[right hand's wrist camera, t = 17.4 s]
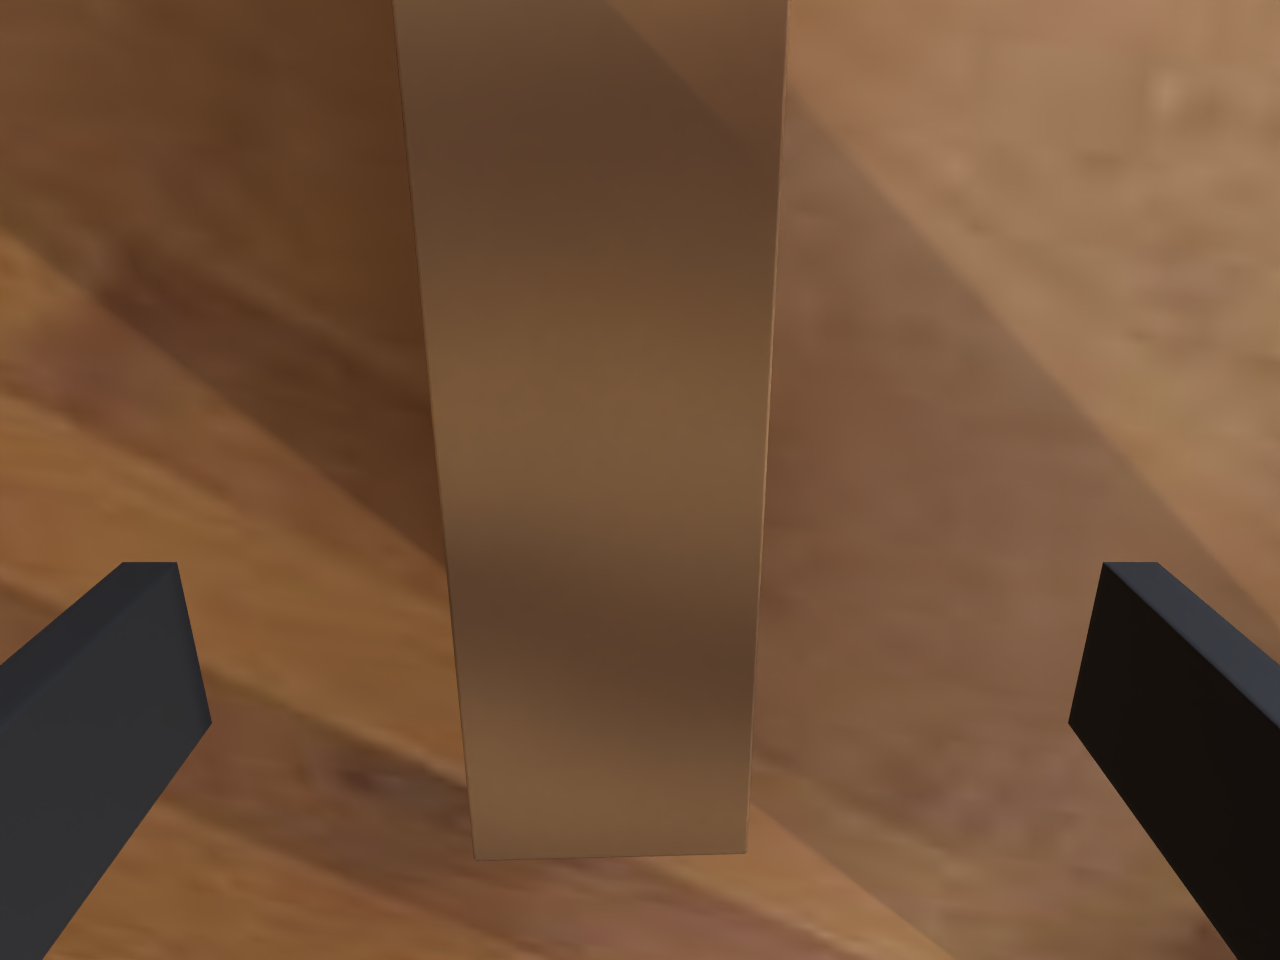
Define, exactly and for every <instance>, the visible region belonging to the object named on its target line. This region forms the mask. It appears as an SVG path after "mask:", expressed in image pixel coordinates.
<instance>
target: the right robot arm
mask: <svg viewBox="0 0 1280 960" xmlns="http://www.w3.org/2000/svg"><path fill="white" fill-rule="evenodd" d="M211 724H212V721H211V717H210V712H209V708H208V703H207V698H206V694H205V689H204V685H203V680H202V675H201V671H200V666H199V662H198V657H197V652H196V648H195V643H194V639H193V634H192V629H191V625H190V620H189V616H188V611H187V606H186V602H185V597H184V593H183V588H182V584H181V579H180V574H179V570H178V565H177V562H123V563H121V564H120V565H119V566H118V567H117V568H115V569H114V570H113V571H112V572H111V573H110V574H108V575H107V576H106V577H105V578H104V579H102V580H101V581H100V582H99V583H98V584H96V585H95V586H94V587H93V588H92V589H91V590H89V591H88V592H87V593H86V594H85V595H83V596H82V597H81V598H80V599H79V600H77V601H76V602H75V603H74V604H73V605H72V606H70V607H69V608H68V609H67V610H66V611H64V612H63V613H62V614H61V615H60V616H58V617H57V618H56V619H55V620H54V621H53V622H51V623H50V624H49V625H48V626H47V627H45V628H44V629H43V630H42V631H41V632H39V633H38V634H37V635H36V636H35V637H34V638H32V639H31V640H30V641H29V642H28V643H26V644H25V645H24V646H23V647H22V648H20V649H19V650H18V651H17V652H16V653H14V654H13V655H12V656H11V657H10V658H9V659H7V660H6V661H5V662H4V663H3V664H1V665H0V960H42V959H43V958H44V956H45V955H46V953H47V952H48V951H49V949H50V948H51V946H52V945H53V944H54V942H55V941H56V940H57V938H58V937H59V935H60V934H61V933H62V931H63V930H64V928H65V927H66V926H67V924H68V923H69V921H70V920H71V919H72V917H73V916H74V914H75V913H76V912H77V910H78V909H79V907H80V906H81V905H82V903H83V902H84V901H85V899H86V898H87V896H88V895H89V894H90V892H91V891H92V889H93V888H94V887H95V885H96V884H97V882H98V881H99V880H100V878H101V877H102V875H103V874H104V873H105V871H106V870H107V868H108V867H109V866H110V864H111V863H112V862H113V860H114V859H115V857H116V856H117V855H118V853H119V852H120V850H121V849H122V848H123V846H124V845H125V843H126V842H127V841H128V839H129V838H130V836H131V835H132V834H133V832H134V831H135V829H136V828H137V827H138V825H139V824H140V823H141V821H142V820H143V818H144V817H145V816H146V814H147V813H148V811H149V810H150V809H151V807H152V806H153V804H154V803H155V802H156V800H157V799H158V797H159V796H160V795H161V793H162V792H163V790H164V789H165V788H166V786H167V785H168V784H169V782H170V781H171V779H172V778H173V777H174V775H175V774H176V772H177V771H178V770H179V768H180V767H181V765H182V764H183V763H184V761H185V760H186V758H187V757H188V756H189V754H190V753H191V751H192V750H193V749H194V747H195V746H196V745H197V743H198V742H199V740H200V739H201V738H202V736H203V735H204V733H205V732H206V731H207V729H208V728H209V726H210V725H211ZM1068 724H1069V725H1070V726H1071V728H1072V729H1073V731H1074V732H1075V733H1076V735H1077V736H1078V738H1079V739H1080V740H1081V742H1082V743H1083V745H1084V746H1085V747H1086V749H1087V750H1088V751H1089V753H1090V754H1091V756H1092V757H1093V758H1094V760H1095V761H1096V763H1097V764H1098V765H1099V767H1100V768H1101V770H1102V771H1103V772H1104V774H1105V775H1106V777H1107V778H1108V779H1109V781H1110V782H1111V784H1112V785H1113V786H1114V788H1115V789H1116V790H1117V792H1118V793H1119V795H1120V796H1121V797H1122V799H1123V800H1124V802H1125V803H1126V804H1127V806H1128V807H1129V809H1130V810H1131V811H1132V813H1133V814H1134V816H1135V817H1136V818H1137V820H1138V821H1139V823H1140V824H1141V825H1142V827H1143V828H1144V829H1145V831H1146V832H1147V834H1148V835H1149V836H1150V838H1151V839H1152V841H1153V842H1154V843H1155V845H1156V846H1157V848H1158V849H1159V850H1160V852H1161V853H1162V855H1163V856H1164V857H1165V859H1166V860H1167V862H1168V863H1169V864H1170V866H1171V867H1172V868H1173V870H1174V871H1175V873H1176V874H1177V875H1178V877H1179V878H1180V880H1181V881H1182V882H1183V884H1184V885H1185V887H1186V888H1187V889H1188V891H1189V892H1190V894H1191V895H1192V896H1193V898H1194V899H1195V901H1196V902H1197V903H1198V905H1199V906H1200V907H1201V909H1202V910H1203V912H1204V913H1205V914H1206V916H1207V917H1208V919H1209V920H1210V921H1211V923H1212V924H1213V926H1214V927H1215V928H1216V930H1217V931H1218V933H1219V934H1220V935H1221V937H1222V938H1223V939H1224V941H1225V942H1226V944H1227V945H1228V946H1229V948H1230V949H1231V951H1232V952H1233V953H1234V955H1235V956H1236V958H1237V959H1238V960H1280V665H1279V664H1277V663H1276V662H1275V661H1274V660H1273V659H1271V658H1270V657H1269V656H1268V655H1267V654H1266V653H1264V652H1263V651H1262V650H1261V649H1260V648H1258V647H1257V646H1256V645H1255V644H1254V643H1252V642H1251V641H1250V640H1249V639H1248V638H1247V637H1245V636H1244V635H1243V634H1242V633H1241V632H1239V631H1238V630H1237V629H1236V628H1235V627H1233V626H1232V625H1231V624H1230V623H1229V622H1227V621H1226V620H1225V619H1224V618H1223V617H1222V616H1220V615H1219V614H1218V613H1217V612H1216V611H1214V610H1213V609H1212V608H1211V607H1210V606H1208V605H1207V604H1206V603H1205V602H1204V601H1203V600H1201V599H1200V598H1199V597H1198V596H1197V595H1195V594H1194V593H1193V592H1192V591H1191V590H1189V589H1188V588H1187V587H1186V586H1185V585H1184V584H1182V583H1181V582H1180V581H1179V580H1178V579H1176V578H1175V577H1174V576H1173V575H1172V574H1170V573H1169V572H1168V571H1167V570H1166V569H1165V568H1163V567H1162V566H1161V565H1160V564H1159V563H1157V562H1103V565H1102V570H1101V574H1100V579H1099V584H1098V588H1097V593H1096V597H1095V602H1094V607H1093V611H1092V616H1091V620H1090V625H1089V629H1088V634H1087V639H1086V643H1085V648H1084V652H1083V657H1082V662H1081V666H1080V671H1079V675H1078V680H1077V685H1076V689H1075V694H1074V698H1073V703H1072V708H1071V712H1070V717H1069V721H1068Z"/></svg>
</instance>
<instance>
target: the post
mask: <svg viewBox="0 0 1280 960" xmlns="http://www.w3.org/2000/svg"><path fill="white" fill-rule="evenodd" d="M790 3H791V0H392V10H393V20H394V31H395V41H396V52H397V62H398V72H399V83H400V93H401V104H402V114H403V124H404V135H405V145H406V156H407V166H408V176H409V187H410V197H411V208H412V218H413V229H414V239H415V249H416V260H417V270H418V281H419V291H420V301H421V312H422V322H423V333H424V343H425V353H426V364H427V374H428V385H429V395H430V405H431V416H432V426H433V437H434V447H435V457H436V468H437V478H438V489H439V499H440V510H441V520H442V530H443V541H444V551H445V562H446V572H447V582H448V593H449V603H450V614H451V624H452V634H453V645H454V655H455V666H456V676H457V686H458V697H459V707H460V718H461V728H462V738H463V749H464V759H465V770H466V780H467V791H468V801H469V811H470V822H471V832H472V843H473V853H474V859H475V860H476V861H486V860H524V859H563V858H601V857H640V856H678V855H717V854H745V853H746V851H747V839H748V819H749V800H750V780H751V761H752V742H753V722H754V703H755V683H756V664H757V644H758V625H759V606H760V586H761V567H762V547H763V528H764V508H765V489H766V470H767V450H768V431H769V411H770V392H771V372H772V353H773V334H774V314H775V295H776V275H777V256H778V236H779V217H780V198H781V178H782V159H783V139H784V120H785V100H786V81H787V62H788V42H789V23H790Z"/></svg>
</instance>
